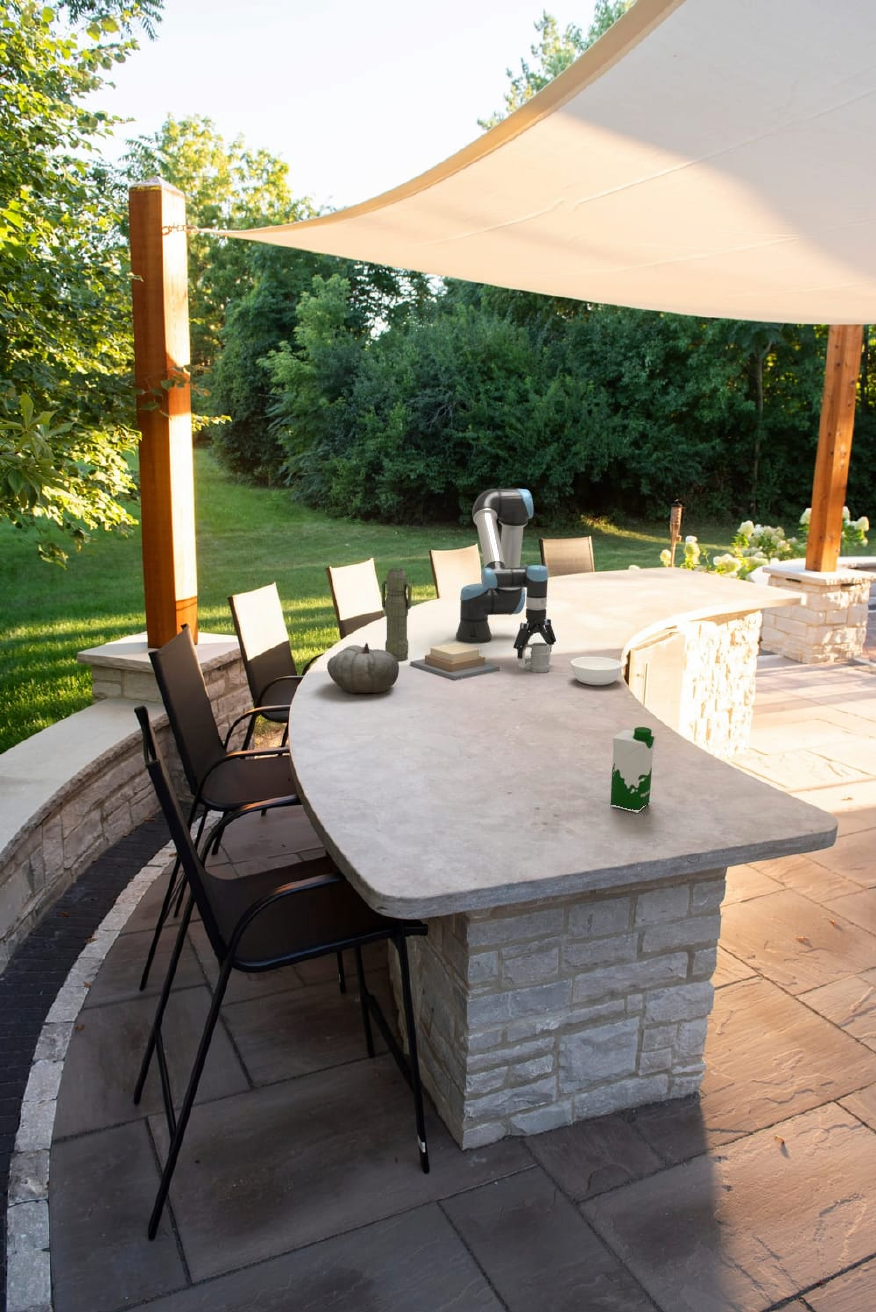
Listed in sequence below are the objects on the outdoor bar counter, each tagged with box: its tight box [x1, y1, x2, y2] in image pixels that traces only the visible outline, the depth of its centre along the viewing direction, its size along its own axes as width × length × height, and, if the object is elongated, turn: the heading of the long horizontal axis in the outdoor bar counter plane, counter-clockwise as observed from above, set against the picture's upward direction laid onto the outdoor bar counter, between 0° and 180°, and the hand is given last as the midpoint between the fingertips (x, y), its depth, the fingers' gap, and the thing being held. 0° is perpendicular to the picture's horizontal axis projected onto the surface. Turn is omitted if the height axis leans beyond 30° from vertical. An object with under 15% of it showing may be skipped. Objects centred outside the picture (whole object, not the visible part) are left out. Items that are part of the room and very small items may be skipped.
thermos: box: [381, 568, 413, 663], centre depth 361 cm, size 9×12×35 cm
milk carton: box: [610, 726, 656, 810], centre depth 227 cm, size 9×9×20 cm
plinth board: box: [409, 642, 501, 681], centre depth 352 cm, size 26×22×8 cm
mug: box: [524, 642, 551, 674], centre depth 350 cm, size 8×12×12 cm, turn 72°
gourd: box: [326, 642, 400, 694], centre depth 323 cm, size 25×25×17 cm
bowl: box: [570, 656, 623, 686], centre depth 335 cm, size 18×18×7 cm
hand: (534, 664), depth 351 cm, fingers open, 13 cm apart
